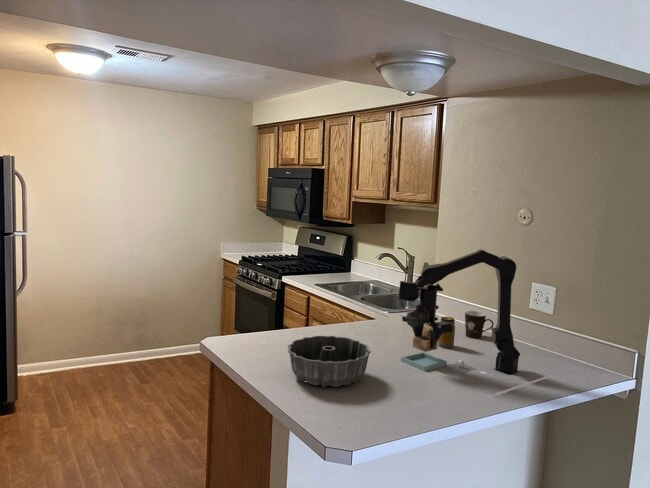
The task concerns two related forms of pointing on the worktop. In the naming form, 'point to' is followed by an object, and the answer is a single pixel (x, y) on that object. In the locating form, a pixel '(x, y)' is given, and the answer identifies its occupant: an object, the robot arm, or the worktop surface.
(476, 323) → the coffee mug
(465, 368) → the gray plate with knob
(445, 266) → the robot arm
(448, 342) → the condiment
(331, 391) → the worktop surface
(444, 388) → the worktop surface
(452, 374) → the worktop surface
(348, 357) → the bundt pan
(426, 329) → the bread roll
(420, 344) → the ring
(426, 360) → the tray
